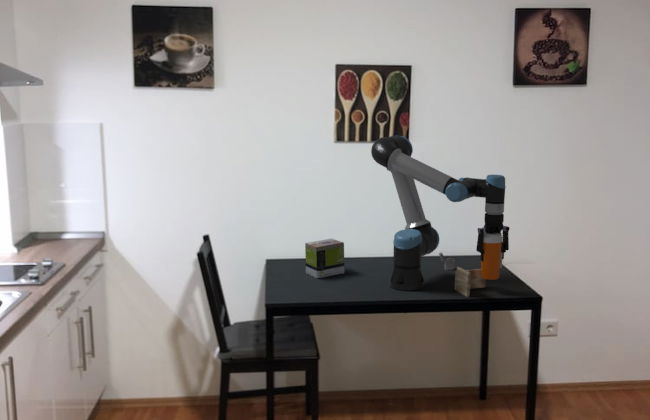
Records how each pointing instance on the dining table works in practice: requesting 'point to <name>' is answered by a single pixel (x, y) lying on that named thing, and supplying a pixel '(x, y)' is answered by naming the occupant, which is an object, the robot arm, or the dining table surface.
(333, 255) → the tea box
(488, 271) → the shaker bottle
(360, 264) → the dining table surface
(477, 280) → the bookend
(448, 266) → the lighter
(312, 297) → the dining table surface
